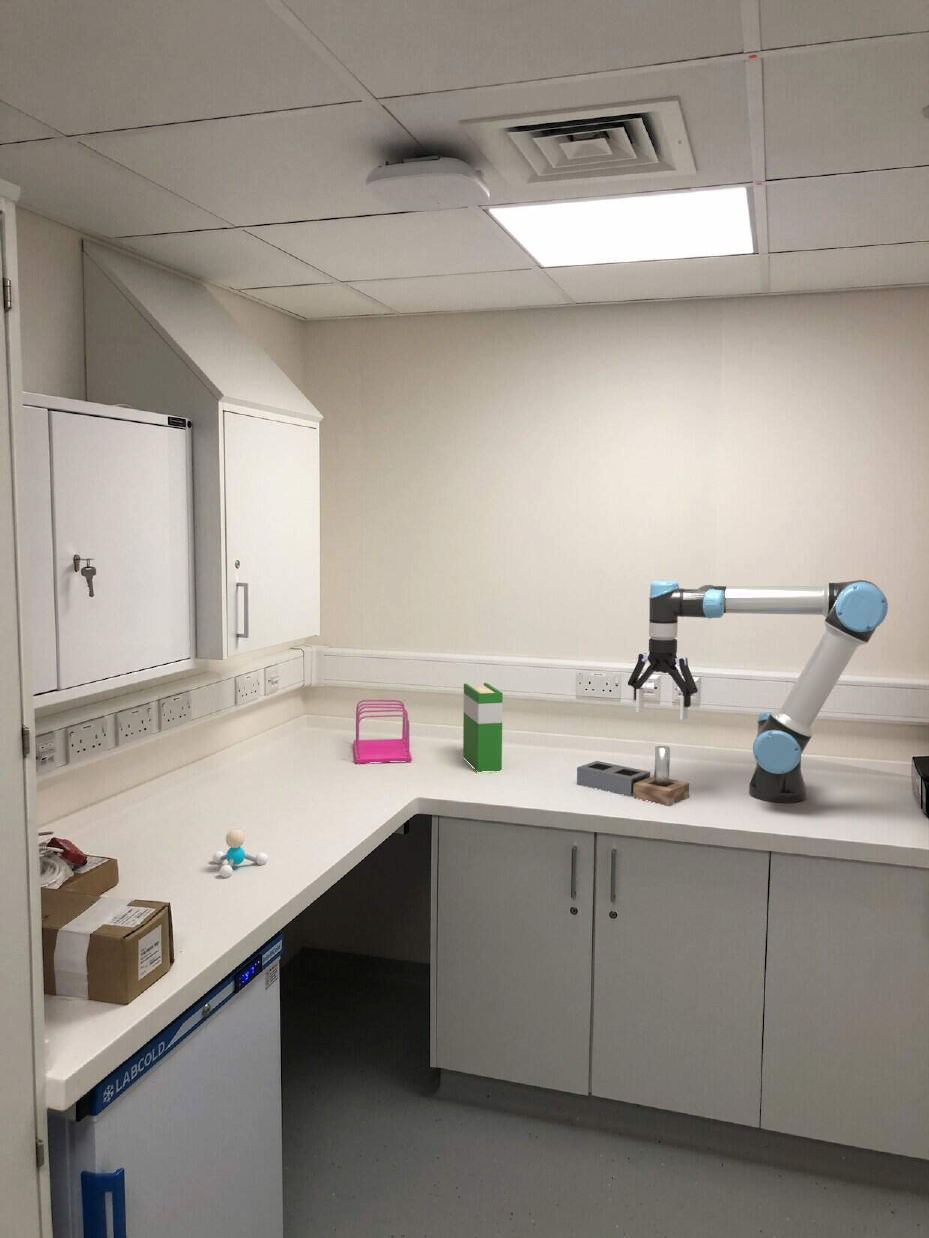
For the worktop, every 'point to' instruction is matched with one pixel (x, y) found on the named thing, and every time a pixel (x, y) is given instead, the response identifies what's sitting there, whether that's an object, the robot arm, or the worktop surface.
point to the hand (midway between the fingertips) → (661, 715)
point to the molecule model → (236, 854)
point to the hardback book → (483, 727)
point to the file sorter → (382, 747)
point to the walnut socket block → (661, 791)
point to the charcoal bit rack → (610, 777)
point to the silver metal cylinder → (662, 766)
